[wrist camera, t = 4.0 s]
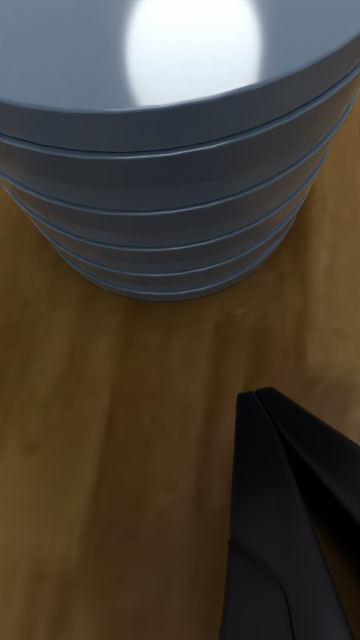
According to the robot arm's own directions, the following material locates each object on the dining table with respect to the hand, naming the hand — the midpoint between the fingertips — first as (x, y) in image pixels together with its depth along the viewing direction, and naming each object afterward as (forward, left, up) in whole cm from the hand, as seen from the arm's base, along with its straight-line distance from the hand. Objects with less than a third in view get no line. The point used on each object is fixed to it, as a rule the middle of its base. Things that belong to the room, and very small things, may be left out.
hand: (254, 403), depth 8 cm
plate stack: (+14, +5, -9) cm, 18 cm away
